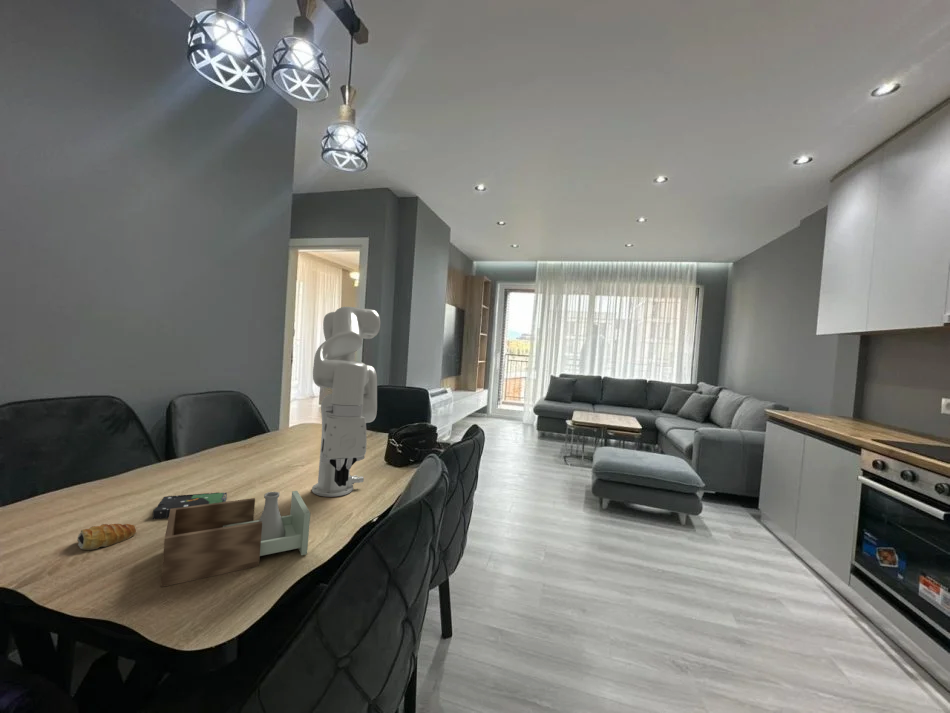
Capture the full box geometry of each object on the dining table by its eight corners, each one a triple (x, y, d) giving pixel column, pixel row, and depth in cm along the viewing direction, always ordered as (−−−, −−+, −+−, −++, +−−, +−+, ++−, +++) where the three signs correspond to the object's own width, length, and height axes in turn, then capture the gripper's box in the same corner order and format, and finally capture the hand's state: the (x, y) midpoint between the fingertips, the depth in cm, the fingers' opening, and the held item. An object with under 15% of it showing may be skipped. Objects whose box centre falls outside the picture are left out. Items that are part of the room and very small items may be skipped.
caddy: (251, 535, 93) (254, 498, 93) (258, 565, 81) (262, 523, 81) (167, 550, 84) (170, 508, 84) (160, 587, 71) (164, 538, 71)
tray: (294, 526, 98) (297, 490, 98) (307, 554, 86) (310, 512, 86) (221, 539, 89) (224, 499, 89) (224, 571, 77) (227, 526, 77)
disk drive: (152, 522, 97) (222, 514, 103) (152, 511, 97) (222, 504, 103) (162, 506, 106) (226, 500, 113) (163, 496, 106) (227, 490, 113)
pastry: (130, 529, 91) (131, 513, 91) (140, 539, 88) (141, 522, 88) (74, 543, 84) (75, 526, 84) (82, 555, 80) (84, 536, 80)
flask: (259, 529, 92) (262, 487, 92) (290, 530, 92) (294, 489, 92) (244, 544, 84) (247, 499, 84) (278, 545, 85) (282, 500, 85)
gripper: (319, 413, 90) (312, 493, 89) (380, 413, 98) (375, 485, 98) (311, 409, 96) (305, 483, 95) (370, 409, 104) (364, 477, 104)
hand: (340, 484), depth 96 cm, fingers closed
